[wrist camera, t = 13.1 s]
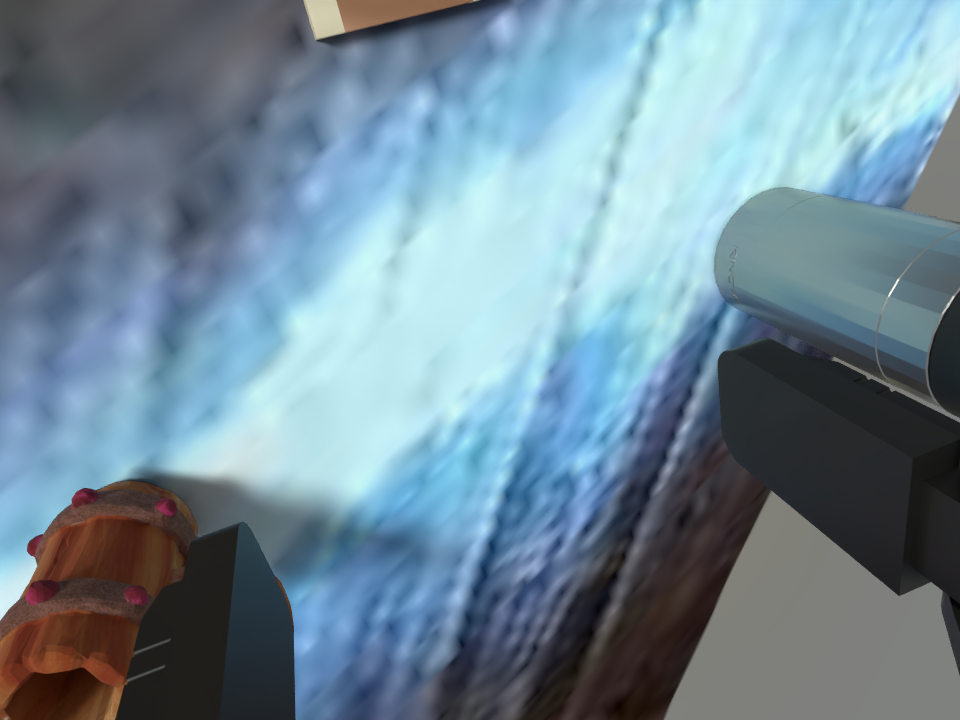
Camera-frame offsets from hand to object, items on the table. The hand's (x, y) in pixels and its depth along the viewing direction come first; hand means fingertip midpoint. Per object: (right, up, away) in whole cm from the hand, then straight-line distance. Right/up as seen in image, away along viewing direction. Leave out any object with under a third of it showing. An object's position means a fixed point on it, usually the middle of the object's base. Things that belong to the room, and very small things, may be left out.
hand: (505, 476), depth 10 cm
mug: (-20, -9, +32) cm, 39 cm away
